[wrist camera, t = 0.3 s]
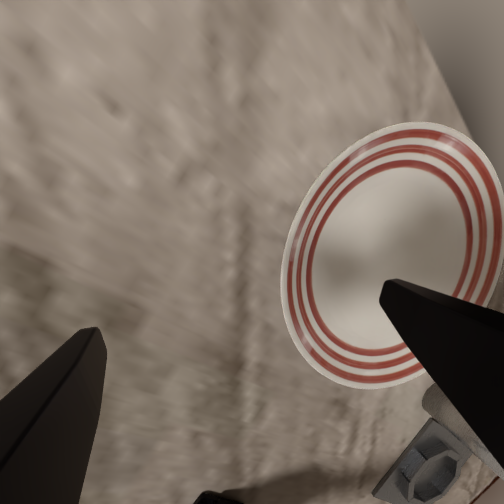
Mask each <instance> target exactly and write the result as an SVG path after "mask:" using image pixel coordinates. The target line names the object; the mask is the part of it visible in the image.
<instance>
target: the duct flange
mask: <svg viewBox="0 0 504 504" xmlns="http://www.w3.org/2000/svg"><path fill="white" fill-rule="evenodd" d="M471 455H472V452H471V451H470V450H469V449H468V448H467V447H466V446H465V445H463V444H462V443H461V442H460V441H459V440H458V439H457V438H456V437H454V436H453V435H452V434H451V433H450V432H449V431H448V430H447V429H446V428H444V427H443V426H442V425H441V424H439V423H438V422H436V421H435V420H433V419H431V418H430V419H429V420H428V421H427V423H426V424H425V425H424V427H423V428H422V429H421V430H420V432H419V433H418V434H417V435H416V437H415V438H414V439H413V441H412V442H411V443H410V444H409V446H408V447H407V448H406V450H405V451H404V452H403V453H402V455H401V456H400V457H399V458H398V460H397V461H396V462H395V464H394V465H393V466H392V467H391V469H390V470H389V471H388V472H387V474H386V475H385V476H384V478H383V479H382V480H381V481H380V483H379V484H378V485H377V486H376V488H375V489H374V490H373V492H372V495H373V496H374V497H376V498H378V499H381V500H384V501H387V502H389V503H392V504H433V503H434V502H435V501H437V500H439V499H441V498H442V497H443V496H445V494H446V493H447V492H448V491H449V489H450V488H451V487H452V486H453V484H454V483H455V482H456V481H457V479H458V478H459V477H458V476H460V471H461V467H462V466H463V465H464V463H465V462H466V461H467V460H468V458H469V457H470V456H471Z"/></svg>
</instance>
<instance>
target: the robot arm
mask: <svg viewBox="0 0 504 504" xmlns="http://www.w3.org/2000/svg"><path fill="white" fill-rule="evenodd" d="M379 304H380V306H381V308H382V309H383V311H384V312H385V314H386V315H387V317H388V318H389V320H390V321H391V323H392V325H393V326H394V328H395V329H396V331H397V332H398V334H399V335H400V337H401V338H402V340H403V341H404V343H405V344H406V345H407V347H408V348H409V349H410V351H411V352H412V353H413V355H414V356H415V357H416V358H417V360H418V361H419V362H420V364H421V365H422V366H423V367H424V369H425V370H426V371H427V373H428V374H429V375H430V376H431V378H432V379H433V380H434V381H435V383H436V384H437V385H438V387H439V388H440V389H441V390H442V392H443V393H444V394H445V396H446V397H447V398H448V399H449V401H450V402H451V403H452V404H453V406H454V407H455V408H456V410H457V411H458V412H459V413H460V415H461V416H462V417H463V419H464V420H465V421H466V422H467V424H468V425H469V426H470V428H471V429H472V430H473V431H474V433H475V434H476V435H477V436H478V438H479V439H480V440H481V442H482V443H483V444H484V445H485V447H486V448H487V449H488V451H489V452H490V453H491V454H492V456H493V457H494V458H495V459H496V461H497V462H498V463H499V465H500V466H501V467H502V468H503V470H504V313H501V312H498V311H495V310H492V309H489V308H486V307H483V306H480V305H477V304H474V303H471V302H468V301H465V300H462V299H459V298H456V297H453V296H449V295H446V294H443V293H440V292H437V291H434V290H431V289H428V288H425V287H422V286H419V285H416V284H413V283H410V282H407V281H404V280H401V279H397V278H395V279H389V280H386V281H385V282H384V284H383V287H382V290H381V294H380V297H379ZM106 361H107V349H106V346H105V343H104V340H103V337H102V334H101V331H100V329H99V328H98V327H90V328H84V329H80V330H79V331H77V332H76V333H75V334H74V335H73V336H72V337H71V338H70V339H68V340H67V341H66V342H65V343H64V344H63V345H62V346H61V347H60V348H58V349H57V350H56V351H55V352H54V353H53V354H52V355H51V356H49V357H48V358H47V359H46V360H45V361H44V362H43V363H42V364H41V365H39V366H38V367H37V368H36V369H35V370H34V371H33V372H32V373H30V374H29V375H28V376H27V377H26V378H25V379H24V380H23V381H22V382H20V383H19V384H18V385H17V386H16V387H15V388H14V389H13V390H11V391H10V392H9V393H8V394H7V395H6V396H5V397H4V398H2V399H1V400H0V504H79V499H80V495H81V491H82V487H83V483H84V479H85V475H86V470H87V466H88V462H89V458H90V454H91V450H92V446H93V441H94V437H95V433H96V429H97V425H98V420H99V415H100V409H101V402H102V394H103V386H104V378H105V370H106ZM194 504H243V503H239V502H235V501H232V500H228V499H224V498H220V497H217V496H213V495H209V494H201V495H200V496H199V497H198V499H197V500H196V501H195V503H194Z"/></svg>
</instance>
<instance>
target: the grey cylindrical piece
mask: <svg viewBox="0 0 504 504" xmlns="http://www.w3.org/2000/svg"><path fill="white" fill-rule="evenodd" d="M422 406H423V409H424V410H425V411H426V412H428V413H429V414H430V415H431V416H432V417H433V418H434V419H435V420H437V421H438V422H439V423H440V424H441V425H442V426H443V427H444V428H446V429H447V430H448V431H449V432H450V433H451V434H452V435H453V436H454V437H456V438H457V439H458V440H459V441H460V442H461V443H462V444H463V445H465V446H466V447H467V448H468V449H469V450H470V451H471V452H472V453H473V454H475V455H476V456H477V457H478V458H479V459H480V460H481V461H482V462H484V463H485V464H486V465H487V466H488V467H489V468H490V469H491V470H492V471H494V472H495V473H496V474H497V475H498V476H499V477H500V478H501V479H503V480H504V470H503V468H502V467H501V466H500V465H499V463H498V462H497V461H496V459H495V458H494V457H493V456H492V454H491V453H490V452H489V451H488V449H487V448H486V447H485V445H484V444H483V443H482V442H481V440H480V439H479V438H478V436H477V435H476V434H475V433H474V431H473V430H472V429H471V428H470V426H469V425H468V424H467V422H466V421H465V420H464V419H463V417H462V416H461V415H460V413H459V412H458V411H457V410H456V408H455V407H454V406H453V404H452V403H451V402H450V401H449V399H448V398H447V397H446V396H445V394H444V393H443V392H442V390H441V389H440V388H439V387H438V385H437V384H436V383H435V384H433V385H432V386H431V387H430V388H429V389H428V390H427V391H426V393H425V394H424V396H423V400H422Z"/></svg>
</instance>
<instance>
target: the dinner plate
mask: <svg viewBox="0 0 504 504" xmlns="http://www.w3.org/2000/svg"><path fill="white" fill-rule="evenodd" d="M503 259H504V194H503V191H502V187H501V183H500V181H499V179H498V176H497V174H496V172H495V169H494V168H493V167H492V164H491V163H490V161H489V159H488V158H487V157H486V155H485V154H484V152H483V151H482V150H481V149H480V148H479V146H477V145H476V144H475V143H474V142H473V141H472V140H471V139H469V138H468V137H467V136H465V135H464V134H462V133H461V132H459V131H457V130H455V129H453V128H450V127H447V126H444V125H441V124H437V123H431V122H405V123H400V124H396V125H391V126H388V127H385V128H382V129H380V130H377V131H375V132H372V133H370V134H368V135H367V136H365V137H363V138H361V139H360V140H358V141H356V142H355V143H354V144H352V145H351V146H349V147H348V148H346V149H345V150H344V151H343V152H341V153H340V154H339V155H338V156H337V157H336V158H335V159H334V160H333V161H332V162H331V163H330V164H329V165H328V166H327V167H326V168H325V169H324V170H323V171H322V172H321V174H320V175H319V177H318V178H317V179H316V180H315V182H314V183H313V185H312V186H311V188H310V190H309V191H308V193H307V194H306V196H305V197H304V199H303V201H302V203H301V205H300V207H299V209H298V211H297V213H296V215H295V218H294V220H293V223H292V225H291V228H290V231H289V234H288V238H287V241H286V245H285V248H284V253H283V259H282V267H281V280H280V288H281V303H282V309H283V314H284V319H285V322H286V325H287V328H288V331H289V333H290V336H291V338H292V340H293V342H294V344H295V345H296V347H297V349H298V350H299V352H300V353H301V355H302V356H303V357H304V358H305V360H306V361H307V362H308V363H309V364H310V365H311V366H312V367H313V368H314V369H315V370H316V371H318V372H319V373H320V374H322V375H323V376H325V377H327V378H328V379H330V380H332V381H334V382H336V383H339V384H341V385H344V386H348V387H352V388H358V389H381V388H387V387H391V386H395V385H399V384H402V383H404V382H407V381H410V380H412V379H414V378H416V377H418V376H420V375H421V374H423V373H425V372H427V371H426V370H425V369H424V367H423V366H422V365H421V364H420V362H419V361H418V360H417V358H416V357H415V356H414V355H413V353H412V352H411V351H410V349H409V348H408V347H407V345H406V344H405V343H404V341H403V340H402V338H401V337H400V335H399V334H398V332H397V331H396V329H395V328H394V326H393V325H392V323H391V321H390V320H389V318H388V317H387V315H386V314H385V312H384V311H383V309H382V308H381V306H380V304H379V297H380V294H381V290H382V287H383V284H384V282H385V281H386V280H389V279H395V278H397V279H401V280H404V281H407V282H410V283H413V284H416V285H419V286H422V287H425V288H428V289H431V290H434V291H437V292H440V293H443V294H446V295H449V296H453V297H456V298H459V299H462V300H465V301H468V302H471V303H474V304H477V305H480V306H483V307H487V305H488V303H489V301H490V298H491V297H492V294H493V292H494V289H495V287H496V284H497V281H498V279H499V275H500V272H501V268H502V264H503Z"/></svg>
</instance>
